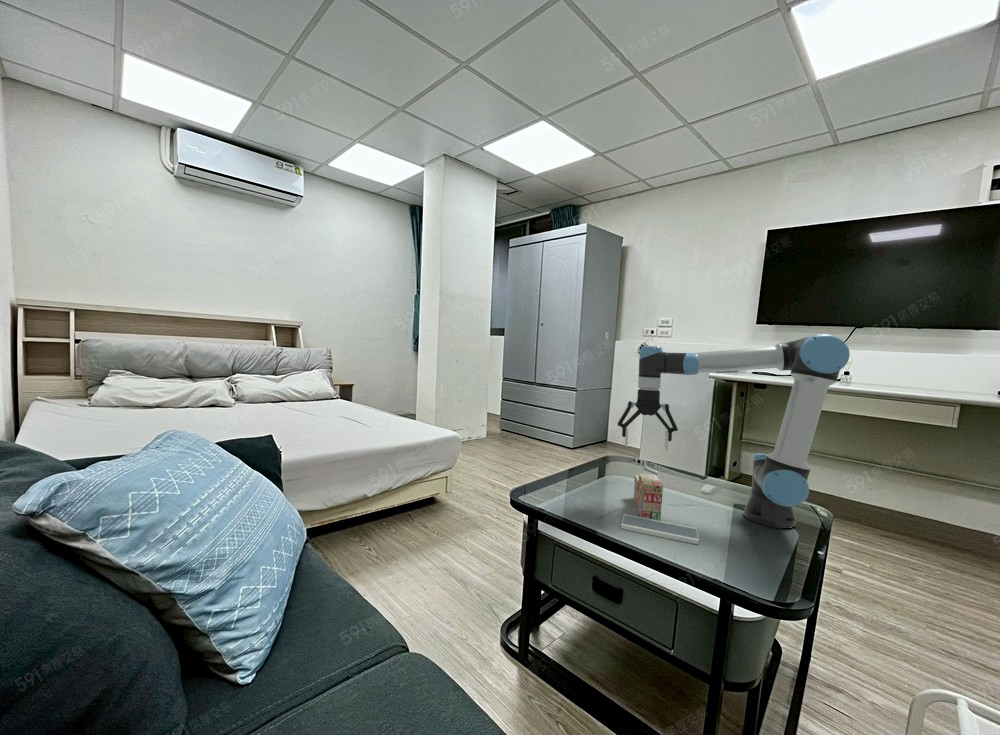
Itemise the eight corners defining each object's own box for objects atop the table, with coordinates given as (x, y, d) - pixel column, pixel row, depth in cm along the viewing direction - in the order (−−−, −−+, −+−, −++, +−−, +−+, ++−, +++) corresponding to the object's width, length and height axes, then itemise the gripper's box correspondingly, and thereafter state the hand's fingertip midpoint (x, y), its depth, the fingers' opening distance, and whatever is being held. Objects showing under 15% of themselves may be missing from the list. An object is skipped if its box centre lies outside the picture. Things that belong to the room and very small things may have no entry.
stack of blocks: (633, 498, 157) (635, 466, 156) (650, 500, 155) (652, 468, 155) (641, 519, 136) (643, 483, 135) (660, 521, 134) (663, 485, 134)
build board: (696, 531, 128) (696, 527, 127) (698, 544, 118) (698, 540, 118) (624, 517, 136) (624, 513, 136) (620, 528, 127) (621, 524, 127)
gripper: (685, 390, 145) (681, 449, 145) (613, 386, 152) (610, 442, 152) (688, 392, 138) (685, 454, 138) (612, 387, 145) (609, 446, 145)
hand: (645, 448), depth 145 cm, fingers open, 13 cm apart
